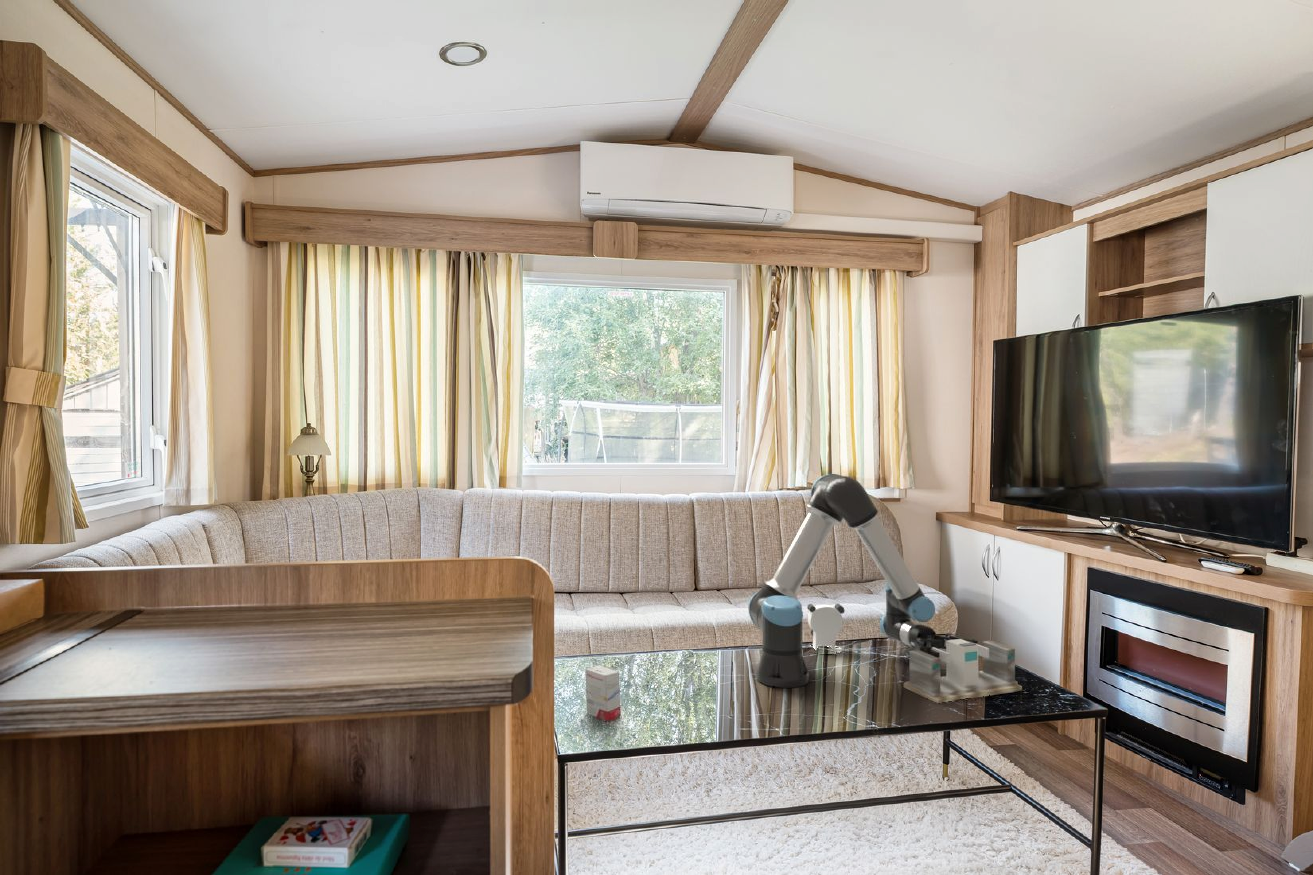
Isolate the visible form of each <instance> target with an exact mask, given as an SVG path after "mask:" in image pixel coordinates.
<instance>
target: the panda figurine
mask: <svg viewBox="0 0 1313 875" xmlns="http://www.w3.org/2000/svg"><path fill="white" fill-rule="evenodd" d="M806 607H807V610H808V611H809V613H808V615H807V623H808V627H810V629H811V630H810V634H811V636H812V644H811V645H813V648H814V649H815V650H817V648H818V646H827V647H829V646H830V647H831V648H832V649H833V650H830V651H842V652H843V648H841V647H840V646H837V645H836V640H837V634H839V632H840V631H841V630H842V629H843V627H844V618H843V615H842V614H844V613H845V607H844V606H843V605H841V604H839V603H835V605H834V606H832V605H830V604H817V605H814V604H812V603H809V604H807V606H806ZM811 645H809V646H811ZM835 647H839V648H835ZM837 653H839V652H837ZM834 654H836V652H835V653H834ZM836 655H837V654H836Z"/></svg>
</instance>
